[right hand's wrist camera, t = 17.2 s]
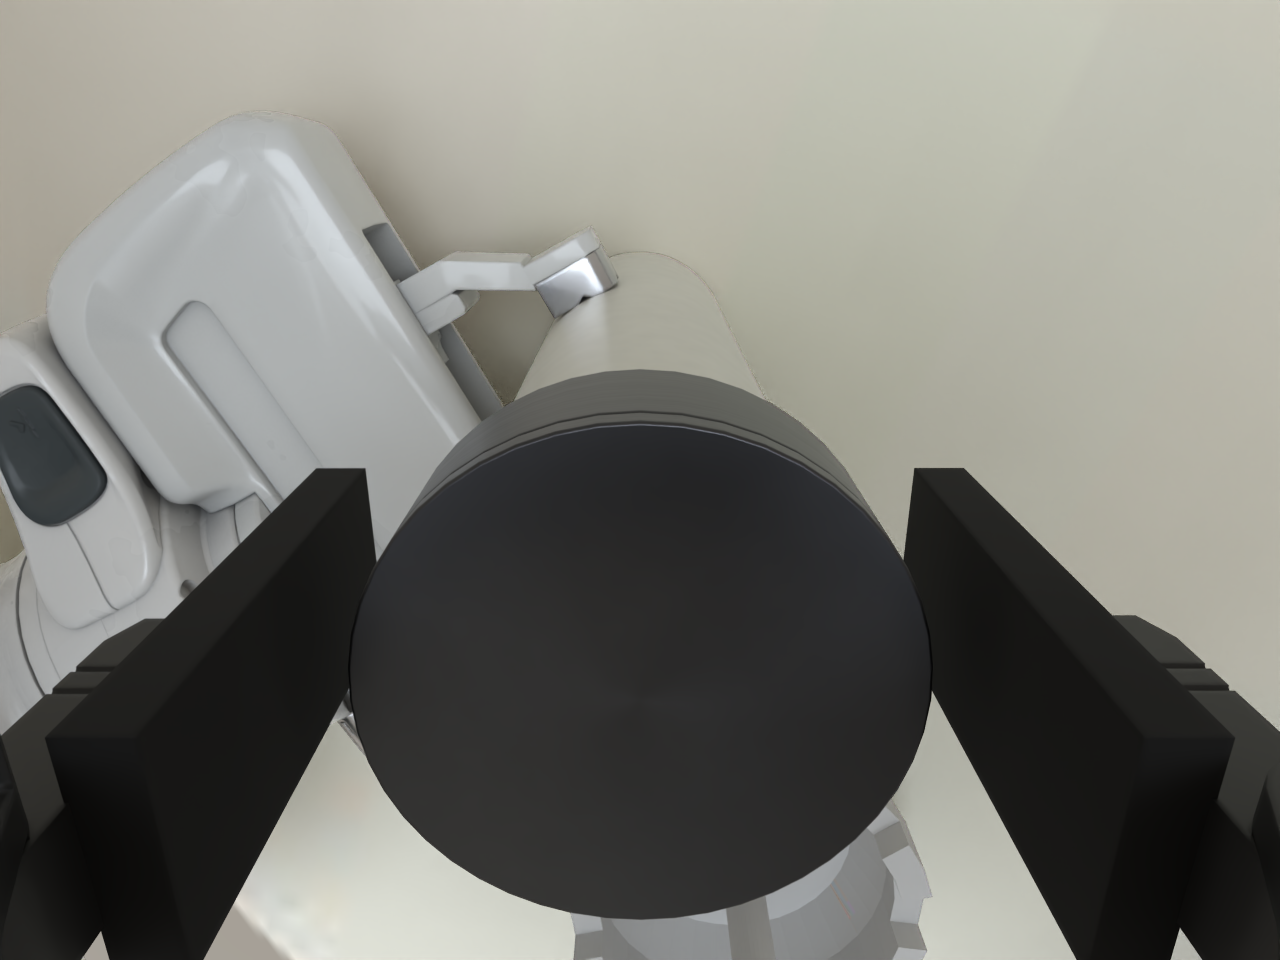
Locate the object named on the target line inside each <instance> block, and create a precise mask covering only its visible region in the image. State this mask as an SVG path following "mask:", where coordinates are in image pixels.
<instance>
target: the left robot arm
mask: <svg viewBox="0 0 1280 960" xmlns="http://www.w3.org/2000/svg"><path fill="white" fill-rule="evenodd" d="M600 243H601V241H600V240H599V238H598V236H597V234H596V232H595V231H594V229H593V227H592V225H591V226H589V227H587V228H585V229H583V230H580V231H579V232H577V233H575V234H573V235H572V236H570V237H568V238H566V239H565V240H563V241H561V242H559V243H557V244H556V245H554V246H552V247H550V248H549V249H547V250H545V251H543V252H542V253H540V254H538V255H536V256H535V257H533V258H532V257H531V256H530V254H525V253H493V252H462V251H455V252H453V253H451V254H449V255H448V256H446V257H444V258H442V259H441V260H439V261H437V262H435V263H434V264H432V265H430V266H428V267H427V268H425V269H423V270H421V271H420V269H419V267H418V266H417V264H416V263H415V261H414V259H413V258H412V256H411V255H410V253H409V251H408V250H407V248H406V246H405V245H404V243H403V242H402V240H401V238H400V237H399V235H398V233H397V232H396V230H395V229H394V227H393V225H392V224H391V222H390V221H389V219H388V217H387V216H386V214H385V212H384V211H383V209H382V208H381V206H380V204H379V203H378V201H377V200H376V198H375V196H374V195H373V193H372V191H371V190H370V188H369V187H368V185H367V183H366V182H365V180H364V179H363V177H362V175H361V174H360V172H359V170H358V169H357V167H356V166H355V164H354V162H353V161H352V159H351V157H350V156H349V154H348V152H347V151H346V149H345V147H344V146H343V144H342V142H341V141H340V140H339V138H338V137H337V135H336V134H335V133H334V132H333V131H332V129H330V128H329V127H328V126H326V125H324V124H322V123H319V122H316V121H312V120H309V119H305V118H302V117H298V116H295V115H290V114H285V113H280V112H273V111H251V112H243V113H239V114H236V115H233V116H230V117H228V118H226V119H224V120H222V121H220V122H218V123H216V124H215V125H213V126H212V127H210V128H208V129H207V130H205V131H204V132H202V133H200V134H199V135H197V136H196V137H195V138H193V139H192V140H190V141H189V142H188V143H186V144H185V145H184V146H182V147H181V148H179V149H178V150H177V151H175V152H174V153H172V154H171V155H170V156H168V157H167V158H166V159H165V160H163V161H162V162H161V163H159V164H158V165H157V166H155V167H154V168H153V169H152V170H150V171H149V172H148V173H147V174H145V175H144V176H143V177H142V178H141V179H139V180H138V181H137V182H136V183H135V184H133V185H132V186H131V187H130V188H129V189H127V190H126V191H125V192H124V193H123V194H121V195H120V196H119V197H118V198H117V199H116V200H115V201H114V202H112V203H111V204H110V205H109V206H108V207H107V208H106V209H105V210H104V211H103V212H102V213H101V214H100V215H98V216H97V217H96V218H95V219H94V220H93V221H92V222H91V223H90V224H89V225H88V226H87V227H86V228H85V229H84V230H83V231H82V232H81V233H80V234H79V235H78V236H77V237H76V238H75V239H74V240H73V242H72V243H71V244H70V245H69V246H68V248H67V249H66V250H65V252H64V253H63V254H62V256H61V258H60V259H59V261H58V263H57V264H56V266H55V269H54V271H53V273H52V275H51V278H50V281H49V285H48V289H47V295H46V314H43V315H40V316H38V317H36V318H33V319H31V320H28V321H26V322H24V323H21V324H19V325H17V326H14V327H12V328H10V329H8V330H6V331H4V332H3V333H1V334H0V487H1V489H2V492H3V494H4V496H5V499H6V501H7V504H8V506H9V509H10V511H11V514H12V516H13V519H14V521H15V524H16V527H17V530H18V532H19V535H20V538H21V541H22V544H23V546H24V549H23V550H22V551H21V552H20V553H19V554H18V555H17V556H16V557H14V558H13V559H11V560H9V561H8V562H6V563H0V734H1V735H2V734H3V733H4V732H6V731H7V730H8V729H9V728H10V727H11V726H12V725H13V724H14V723H15V722H16V721H17V720H19V719H20V718H21V717H22V716H23V715H24V714H25V713H26V712H27V711H28V710H29V709H31V708H32V707H33V706H34V705H35V704H36V703H37V702H38V701H39V700H40V699H41V698H42V697H44V696H45V695H46V694H52V688H53V687H54V686H55V685H57V684H58V683H59V682H60V681H61V680H62V679H63V678H64V677H65V676H66V675H67V674H69V673H70V672H75V671H76V666H77V665H78V664H79V663H80V662H82V661H83V660H84V659H85V658H86V657H87V656H88V655H89V654H90V653H91V652H92V651H93V650H95V649H96V648H97V647H98V646H99V645H100V644H101V643H102V642H103V641H104V640H106V639H108V638H110V637H112V636H114V635H115V634H117V633H119V632H121V631H123V630H125V629H127V628H128V627H130V626H132V625H134V624H136V623H138V622H139V621H141V620H143V619H145V618H166V617H167V616H168V615H169V614H170V613H171V612H172V611H173V610H174V609H175V608H176V607H177V606H178V605H179V604H180V603H181V602H182V601H183V600H184V599H185V598H186V597H187V596H188V595H189V594H190V593H191V592H192V591H193V590H194V589H195V588H196V587H197V586H198V585H199V584H200V583H201V582H202V581H203V580H204V579H205V578H206V577H207V576H208V575H209V574H210V573H211V572H212V571H213V570H214V569H215V568H216V567H217V566H218V565H219V564H220V563H221V562H222V561H223V560H224V559H225V558H226V557H227V556H228V555H229V554H230V553H231V552H232V551H233V550H234V549H235V548H236V547H237V546H238V545H239V544H240V543H241V542H242V541H243V540H244V539H245V538H246V537H247V536H248V535H249V534H250V533H251V532H252V531H253V530H254V529H255V528H256V527H257V526H258V525H259V524H260V523H261V522H263V521H264V520H265V519H266V518H267V517H268V516H269V515H270V514H271V513H272V512H273V511H274V510H275V509H276V508H277V507H278V506H279V505H280V504H281V503H282V502H283V501H284V500H285V499H286V498H287V497H288V496H289V495H290V494H291V493H292V492H293V491H294V490H295V489H296V488H297V487H298V486H299V485H300V484H301V483H302V482H303V481H304V480H305V479H306V478H307V477H308V476H309V475H310V474H311V473H312V472H313V471H314V470H315V469H316V468H366V476H367V485H368V493H369V501H370V510H371V518H372V527H373V535H374V544H375V552H376V560H377V561H378V559H379V558H380V556H381V555H382V553H383V551H384V550H385V548H386V546H387V545H388V543H389V542H390V540H391V538H392V537H393V535H394V534H395V532H396V531H397V529H398V527H399V526H400V524H401V523H402V521H403V519H404V518H405V516H406V515H407V513H408V512H409V510H410V508H411V507H412V505H413V504H414V502H415V501H416V499H417V497H418V496H419V494H420V493H421V491H422V490H423V488H424V486H425V485H426V483H427V482H428V480H429V479H430V477H431V475H432V474H433V472H434V471H435V469H436V468H437V466H438V465H439V464H440V463H441V462H442V461H443V459H444V458H445V457H446V456H447V455H448V453H449V452H450V451H451V450H452V449H453V447H454V446H455V445H456V444H457V443H458V442H459V441H460V440H461V439H463V438H464V437H465V436H466V435H467V434H468V433H469V432H470V431H472V430H473V429H474V428H475V427H476V426H477V425H478V424H479V423H480V422H482V421H483V420H485V419H486V418H488V417H489V416H491V415H492V414H494V413H495V412H497V411H498V410H500V409H501V408H503V407H504V405H503V404H502V402H501V400H500V399H499V397H498V396H497V394H496V392H495V391H494V389H493V387H492V386H491V384H490V383H489V381H488V379H487V378H486V376H485V374H484V373H483V371H482V370H481V368H480V366H479V365H478V363H477V361H476V360H475V358H474V357H473V355H472V353H471V352H470V350H469V349H468V347H467V345H466V344H465V342H464V340H463V339H462V337H461V336H460V334H459V332H458V331H457V329H456V327H455V326H454V324H453V323H452V321H454V320H456V319H457V318H459V317H461V316H462V315H464V314H465V313H466V312H467V311H468V310H469V309H470V308H471V307H472V306H474V305H475V304H476V303H477V302H478V301H479V298H480V294H479V292H478V290H500V291H536V290H538V292H539V293H540V295H541V297H542V298H543V300H544V302H545V303H546V305H547V307H548V308H549V310H550V312H551V313H552V315H553V317H554V318H555V319H556V318H558V317H559V316H561V315H563V314H565V313H567V312H569V311H571V310H572V309H573V308H575V307H576V306H577V305H579V303H580V301H581V299H582V297H583V296H585V297H594V296H596V295H599V294H601V293H603V292H605V291H607V290H608V289H610V288H611V287H613V286H614V285H615V284H617V283H618V278H619V276H618V274H617V272H616V271H615V269H614V267H613V265H612V263H611V261H610V259H609V257H608V255H607V253H606V251H605V249H604V247H603V245H602V243H601V244H600ZM334 722H338V723H339V724H340V726H341V727H342V728H343V729H344V731H345V732H346V733H347V735H348V736H349V737H350V738H351V740H352V741H353V742H354V743H355V745H356V746H357V747H358V748H359V750H360V751H361V752H362V753H363V754H364V755H365V752H364V750H363V747H362V744H361V742H360V739H359V736H358V734H357V730H356V726H355V721H354V716H353V712H352V707H351V703H350V694H349V690H348V691H347V693H346V695H345V697H344V699H343V701H342V703H341V704H340V706H339V708H338V710H337V712H336V714H335V716H334V717H333V719H332V721H331V723H330V724H332V723H334ZM365 756H366V755H365ZM81 960H86V959H85V957H84V956H83V958H82V959H81Z"/></svg>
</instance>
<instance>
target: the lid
mask: <svg viewBox="0 0 1280 960" xmlns="http://www.w3.org/2000/svg"><path fill="white" fill-rule="evenodd" d="M932 678H933V658H932V648H931V637H930V630H929V627H928V623H927V619H926V615H925V611H924V607H923V603H922V599H921V597H920V595H919V593H918V590H917V588H916V586H915V583H914V581H913V579H912V576H911V574H910V572H909V569H908V567H907V566H906V564H905V562H904V561H903V559H902V558H901V556H900V554H899V553H898V551H897V550H896V548H895V546H894V545H893V543H892V542H891V540H890V538H889V537H888V535H887V534H886V532H885V531H884V529H883V527H882V526H881V524H880V523H879V521H878V520H877V518H876V516H875V515H874V513H873V512H872V510H871V509H870V507H869V505H868V504H867V502H866V501H865V499H864V498H863V496H862V495H861V493H860V491H859V490H858V488H857V487H856V485H855V484H854V482H853V480H852V479H851V477H850V476H849V474H848V473H847V471H846V469H845V468H844V467H843V465H842V464H841V463H840V462H839V461H838V460H837V458H836V457H835V456H834V455H833V454H832V452H831V451H830V450H829V449H828V448H827V447H826V445H825V444H824V443H823V442H822V441H821V440H819V439H818V438H817V437H816V436H815V435H814V434H813V433H812V432H810V431H809V430H808V429H807V428H806V427H805V426H804V425H803V424H801V423H800V422H799V421H797V420H796V419H794V418H793V417H791V416H790V415H788V414H787V413H785V412H784V411H782V410H781V409H779V408H778V407H776V406H775V405H773V404H772V403H770V402H768V401H766V400H764V399H762V398H760V397H758V396H755V395H753V394H751V393H749V392H747V391H745V390H743V389H741V388H738V387H735V386H732V385H729V384H726V383H723V382H720V381H717V380H714V379H711V378H707V377H701V376H696V375H691V374H686V373H681V372H676V371H661V370H645V369H635V370H620V371H605V372H600V373H595V374H590V375H585V376H580V377H574V378H570V379H567V380H564V381H561V382H558V383H555V384H552V385H549V386H546V387H543V388H540V389H538V390H536V391H534V392H531V393H529V394H527V395H525V396H523V397H521V398H519V399H517V400H515V401H513V402H511V403H509V404H507V405H506V406H504V407H503V408H501V409H500V410H498V411H497V412H495V413H494V414H492V415H491V416H489V417H488V418H486V419H485V420H483V421H482V422H480V423H479V424H478V425H477V426H476V427H475V428H474V429H473V430H472V431H470V432H469V433H468V434H467V435H466V436H465V437H464V438H463V439H461V440H460V441H459V442H458V443H457V444H456V445H455V446H454V447H453V449H452V450H451V451H450V452H449V453H448V455H447V456H446V457H445V458H444V459H443V461H442V462H441V463H440V464H439V465H438V466H437V468H436V469H435V471H434V472H433V474H432V475H431V477H430V479H429V480H428V482H427V483H426V485H425V486H424V488H423V490H422V491H421V493H420V494H419V496H418V497H417V499H416V501H415V502H414V504H413V505H412V507H411V508H410V510H409V512H408V513H407V515H406V516H405V518H404V519H403V521H402V523H401V524H400V526H399V527H398V529H397V531H396V532H395V534H394V535H393V537H392V538H391V540H390V542H389V543H388V545H387V546H386V548H385V550H384V551H383V553H382V555H381V556H380V558H379V559H378V561H377V563H376V564H375V566H374V567H373V569H372V572H371V574H370V576H369V579H368V581H367V583H366V586H365V588H364V590H363V593H362V595H361V597H360V600H359V603H358V607H357V611H356V615H355V619H354V623H353V627H352V631H351V636H350V647H349V658H348V679H349V694H350V703H351V707H352V712H353V716H354V721H355V726H356V730H357V734H358V736H359V739H360V742H361V744H362V747H363V750H364V752H365V755H366V757H367V760H368V763H369V764H370V766H371V768H372V770H373V772H374V774H375V775H376V777H377V779H378V781H379V783H380V784H381V786H382V788H383V790H384V791H385V793H386V794H387V795H388V797H389V798H390V800H391V801H392V802H393V804H394V805H395V806H396V808H397V809H398V810H399V812H400V813H401V814H402V816H403V817H404V818H405V819H406V820H407V821H408V822H409V823H410V824H411V825H412V826H413V827H414V828H415V829H416V830H417V832H418V833H419V834H420V835H421V836H422V837H423V838H424V839H425V840H426V841H427V842H429V843H430V844H431V845H432V846H434V847H435V848H436V849H437V850H439V851H440V852H441V853H442V854H443V855H445V856H446V857H447V858H448V859H450V860H451V861H452V862H454V863H455V864H457V865H458V866H460V867H462V868H463V869H465V870H466V871H468V872H469V873H471V874H473V875H474V876H476V877H477V878H479V879H481V880H483V881H485V882H487V883H489V884H491V885H493V886H495V887H497V888H499V889H501V890H503V891H505V892H507V893H509V894H512V895H515V896H517V897H520V898H523V899H526V900H528V901H531V902H534V903H537V904H539V905H543V906H547V907H550V908H554V909H558V910H562V911H566V912H570V913H575V914H581V915H588V916H595V917H602V918H611V919H632V920H649V919H669V918H679V917H686V916H693V915H699V914H706V913H711V912H715V911H718V910H722V909H726V908H730V907H734V906H738V905H742V904H744V903H747V902H750V901H752V900H755V899H758V898H761V897H763V896H766V895H769V894H771V893H774V892H776V891H778V890H780V889H782V888H784V887H786V886H788V885H790V884H792V883H794V882H796V881H798V880H800V879H802V878H804V877H805V876H807V875H808V874H810V873H811V872H813V871H814V870H816V869H818V868H819V867H821V866H822V865H824V864H825V863H827V862H828V861H830V860H831V859H833V858H834V857H835V856H836V855H837V854H839V853H840V852H841V851H842V850H844V849H845V848H846V847H847V846H848V845H850V844H851V843H852V842H853V841H855V840H856V839H857V838H858V837H859V836H860V834H861V833H862V832H863V831H864V830H865V829H866V828H867V827H868V826H869V825H870V824H871V823H872V822H873V821H874V820H875V819H876V818H877V817H878V816H879V814H880V813H881V811H882V810H883V809H884V807H885V806H886V805H887V803H888V802H889V801H890V799H891V798H892V797H893V795H894V794H895V793H896V791H897V790H898V788H899V786H900V784H901V782H902V781H903V779H904V777H905V775H906V773H907V771H908V770H909V768H910V766H911V764H912V762H913V760H914V757H915V755H916V752H917V749H918V747H919V744H920V741H921V739H922V736H923V733H924V730H925V725H926V721H927V716H928V711H929V707H930V702H931V694H932Z"/></svg>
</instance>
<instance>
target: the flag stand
mask: <svg viewBox="0 0 1280 960" xmlns="http://www.w3.org/2000/svg"><path fill="white" fill-rule="evenodd" d="M929 897H932V893H931V890H930V887H929V883H928V880H927V877H926V873H925V870H924V868H923V865H922V863H921V860H920V857H919V855H918V852H917V850H916V847H915V845H914V842H913V840H912V837H911V835H910V832H909V829H908V827H907V824H906V822H905V820H904V819H903V817H902V815H901V814H900V812H899V810H898V809H897V807H896V805H895V804H894V802H893V800H892V799H890V801H889V802H888V803H887V805H886V806H885V807H884V809H883V810H882V811H881V813H880V814H879V816H878V817H877V818H876V819H875V820H874V821H873V822H872V823H871V824H870V825H869V826H868V827H867V828H866V829H865V830H864V831H863V832H862V833H861V834H860V836H859V837H858V838H857V839H856V840H855V841H853V842H852V843H851V844H850V845H848V846H847V847H846V848H845V849H844V850H842V851H841V852H840V853H839V854H837V855H836V856H835V857H834V858H833V859H831V860H830V861H828V862H827V863H825V864H824V865H822V866H821V867H819V868H818V869H816V870H814V871H813V872H811V873H810V874H808V875H807V876H805V877H804V878H802V879H800V880H798V881H796V882H794V883H792V884H790V885H788V886H786V887H784V888H782V889H780V890H778V891H776V892H774V893H771V894H769V895H766V896H763V897H761V898H758V899H755V900H752V901H750V902H747V903H744V904H742V905H738V906H734V907H730V908H726V909H722V910H718V911H715V912H711V913H706V914H699V915H693V916H686V917H679V918H669V919H649V920H632V919H611V918H602V917H595V916H588V915H581V914H575V913H571V917H572V921H573V926H574V930H575V935H576V937H575V949H574V960H923V958H924V956H925V954H926V952H927V949H926V946H925V943H924V940H923V938H922V935H921V932H920V929H919V926H918V921H919V916H920V912H921V907H922V903H923V899H924V898H929Z"/></svg>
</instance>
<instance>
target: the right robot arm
mask: <svg viewBox="0 0 1280 960" xmlns="http://www.w3.org/2000/svg"><path fill="white" fill-rule="evenodd" d="M903 561H904V562H905V564H906V566H907V567H908V569H909V572H910V574H911V576H912V579H913V581H914V583H915V586H916V588H917V590H918V593H919V595H920V597H921V599H922V603H923V607H924V611H925V615H926V619H927V623H928V627H929V630H930V637H931V648H932V658H933V678H932V691H933V693H934V695H935V697H936V699H937V701H938V703H939V704H940V706H941V708H942V710H943V712H944V714H945V716H946V717H947V719H948V721H949V723H950V725H951V727H952V729H953V730H954V732H955V734H956V736H957V738H958V740H959V742H960V744H961V745H962V747H963V749H964V751H965V753H966V755H967V757H968V758H969V760H970V762H971V764H972V766H973V768H974V770H975V771H976V773H977V775H978V777H979V779H980V781H981V783H982V784H983V786H984V788H985V790H986V792H987V794H988V796H989V797H990V799H991V801H992V803H993V805H994V807H995V809H996V811H997V812H998V814H999V816H1000V818H1001V820H1002V822H1003V824H1004V825H1005V827H1006V829H1007V831H1008V833H1009V835H1010V837H1011V838H1012V840H1013V842H1014V844H1015V846H1016V848H1017V850H1018V851H1019V853H1020V855H1021V857H1022V859H1023V861H1024V863H1025V864H1026V866H1027V868H1028V870H1029V872H1030V874H1031V876H1032V878H1033V879H1034V881H1035V883H1036V885H1037V887H1038V889H1039V891H1040V892H1041V894H1042V896H1043V898H1044V900H1045V902H1046V904H1047V905H1048V907H1049V909H1050V911H1051V913H1052V915H1053V917H1054V918H1055V920H1056V922H1057V924H1058V926H1059V928H1060V930H1061V931H1062V933H1063V935H1064V937H1065V939H1066V941H1067V943H1068V945H1069V946H1070V948H1071V950H1072V952H1073V954H1074V956H1075V958H1076V959H1077V960H1171V956H1172V953H1173V949H1174V946H1175V943H1176V939H1177V936H1178V932H1179V929H1180V928H1181V930H1182V931H1183V932H1184V934H1185V935H1186V937H1187V938H1188V940H1189V941H1190V943H1191V944H1192V946H1193V947H1194V948H1195V950H1196V951H1197V953H1198V954H1199V956H1200V957H1201V959H1202V960H1280V732H1279V731H1278V730H1277V729H1276V728H1275V727H1274V726H1273V725H1272V724H1271V723H1269V722H1268V721H1267V720H1266V719H1265V718H1264V717H1263V716H1262V715H1261V714H1260V713H1259V712H1257V711H1256V710H1255V709H1254V708H1253V707H1252V706H1251V705H1250V704H1249V703H1248V702H1247V701H1245V700H1244V699H1243V698H1242V697H1241V696H1240V695H1239V694H1238V693H1237V692H1236V691H1229V688H1228V687H1229V685H1228V684H1227V683H1226V682H1225V681H1224V680H1222V679H1221V678H1220V677H1219V676H1218V675H1217V674H1216V673H1215V672H1214V671H1213V670H1212V669H1206V668H1205V663H1204V662H1203V661H1202V660H1201V659H1199V658H1198V657H1197V656H1196V655H1195V654H1194V653H1193V652H1192V651H1191V650H1190V649H1189V648H1187V647H1186V646H1185V645H1184V644H1183V643H1182V642H1181V641H1180V640H1179V639H1178V638H1176V637H1175V636H1173V635H1171V634H1169V633H1167V632H1165V631H1163V630H1162V629H1160V628H1158V627H1156V626H1154V625H1152V624H1150V623H1149V622H1147V621H1145V620H1143V619H1141V618H1139V617H1137V616H1136V615H1111V614H1110V613H1109V612H1108V611H1107V610H1106V609H1105V608H1104V607H1103V606H1102V605H1101V604H1100V603H1099V602H1098V601H1097V600H1096V599H1095V598H1094V597H1093V596H1092V595H1091V594H1090V593H1089V592H1088V591H1087V590H1086V589H1085V588H1084V587H1083V586H1082V585H1081V584H1080V583H1079V582H1078V581H1077V580H1076V579H1075V578H1074V577H1073V576H1072V575H1071V574H1070V573H1069V572H1068V571H1067V570H1066V569H1065V568H1064V567H1063V566H1062V565H1061V564H1060V563H1059V562H1058V561H1057V560H1056V559H1055V558H1054V557H1053V556H1052V555H1051V554H1050V553H1049V552H1048V551H1047V550H1046V549H1045V548H1044V547H1043V546H1042V545H1041V544H1040V543H1039V542H1038V541H1037V540H1036V539H1035V538H1034V537H1033V536H1032V535H1031V534H1030V533H1029V532H1028V531H1027V530H1026V529H1025V528H1024V527H1023V526H1022V525H1021V524H1020V523H1019V522H1017V521H1016V520H1015V519H1014V518H1013V517H1012V516H1011V515H1010V514H1009V513H1008V512H1007V511H1006V510H1005V509H1004V508H1003V507H1002V506H1001V505H1000V504H999V503H998V502H997V501H996V500H995V499H994V498H993V497H992V496H991V495H990V494H989V493H988V492H987V491H986V490H985V489H984V488H983V487H982V486H981V485H980V484H979V483H978V482H977V481H976V480H975V479H974V478H973V477H972V476H971V475H970V474H969V473H968V472H967V471H966V470H965V469H964V468H914V476H913V485H912V493H911V501H910V510H909V518H908V527H907V535H906V543H905V552H904V560H903ZM376 563H377V560H376V552H375V544H374V535H373V527H372V518H371V510H370V501H369V493H368V485H367V476H366V468H316V469H315V470H314V471H313V472H312V473H311V474H310V475H309V476H308V477H307V478H306V479H305V480H304V481H303V482H302V483H301V484H300V485H299V486H298V487H297V488H296V489H295V490H294V491H293V492H292V493H291V494H290V495H289V496H288V497H287V498H286V499H285V500H284V501H283V502H282V503H281V504H280V505H279V506H278V507H277V508H276V509H275V510H274V511H273V512H272V513H271V514H270V515H269V516H268V517H267V518H266V519H265V520H264V521H263V522H261V523H260V524H259V525H258V526H257V527H256V528H255V529H254V530H253V531H252V532H251V533H250V534H249V535H248V536H247V537H246V538H245V539H244V540H243V541H242V542H241V543H240V544H239V545H238V546H237V547H236V548H235V549H234V550H233V551H232V552H231V553H230V554H229V555H228V556H227V557H226V558H225V559H224V560H223V561H222V562H221V563H220V564H219V565H218V566H217V567H216V568H215V569H214V570H213V571H212V572H211V573H210V574H209V575H208V576H207V577H206V578H205V579H204V580H203V581H202V582H201V583H200V584H199V585H198V586H197V587H196V588H195V589H194V590H193V591H192V592H191V593H190V594H189V595H188V596H187V597H186V598H185V599H184V600H183V601H182V602H181V603H180V604H179V605H178V606H177V607H176V608H175V609H174V610H173V611H172V612H171V613H170V614H169V615H168V616H167V617H166V618H145V619H143V620H141V621H139V622H138V623H136V624H134V625H132V626H130V627H128V628H127V629H125V630H123V631H121V632H119V633H117V634H115V635H114V636H112V637H110V638H108V639H106V640H104V641H103V642H102V643H101V644H100V645H99V646H98V647H97V648H96V649H95V650H93V651H92V652H91V653H90V654H89V655H88V656H87V657H86V658H85V659H84V660H83V661H82V662H80V663H79V664H78V665H77V666H76V671H75V672H70V673H69V674H67V675H66V676H65V677H64V678H63V679H62V680H61V681H60V682H59V683H58V684H57V685H55V686H54V687H53V688H52V694H46V695H45V696H44V697H42V698H41V699H40V700H39V701H38V702H37V703H36V704H35V705H34V706H33V707H32V708H31V709H29V710H28V711H27V712H26V713H25V714H24V715H23V716H22V717H21V718H20V719H19V720H17V721H16V722H15V723H14V724H13V725H12V726H11V727H10V728H9V729H8V730H7V731H6V732H4V733H3V734H2V735H1V734H0V960H81V959H82V958H83V956H84V955H85V953H86V952H87V950H88V949H89V947H90V946H91V945H92V943H93V942H94V940H95V939H96V937H97V936H98V934H99V933H100V931H101V932H102V936H103V939H104V943H105V946H106V949H107V953H108V956H109V959H110V960H203V959H204V957H205V956H206V954H207V952H208V950H209V948H210V946H211V945H212V943H213V941H214V939H215V937H216V935H217V933H218V931H219V930H220V928H221V926H222V924H223V922H224V920H225V918H226V917H227V915H228V913H229V911H230V909H231V907H232V905H233V904H234V902H235V900H236V898H237V896H238V894H239V892H240V891H241V889H242V887H243V885H244V883H245V881H246V879H247V878H248V876H249V874H250V872H251V870H252V868H253V866H254V864H255V863H256V861H257V859H258V857H259V855H260V853H261V851H262V850H263V848H264V846H265V844H266V842H267V840H268V838H269V837H270V835H271V833H272V831H273V829H274V827H275V825H276V824H277V822H278V820H279V818H280V816H281V814H282V812H283V811H284V809H285V807H286V805H287V803H288V801H289V799H290V797H291V796H292V794H293V792H294V790H295V788H296V786H297V784H298V783H299V781H300V779H301V777H302V775H303V773H304V771H305V770H306V768H307V766H308V764H309V762H310V760H311V758H312V757H313V755H314V753H315V751H316V749H317V747H318V745H319V744H320V742H321V740H322V738H323V736H324V734H325V732H326V730H327V729H328V727H329V725H330V723H331V721H332V719H333V717H334V716H335V714H336V712H337V710H338V708H339V706H340V704H341V703H342V701H343V699H344V697H345V695H346V693H347V691H348V690H349V679H348V658H349V647H350V636H351V631H352V627H353V623H354V619H355V615H356V611H357V607H358V603H359V600H360V597H361V595H362V593H363V590H364V588H365V586H366V583H367V581H368V579H369V576H370V574H371V572H372V569H373V567H374V566H375V564H376Z"/></svg>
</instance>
